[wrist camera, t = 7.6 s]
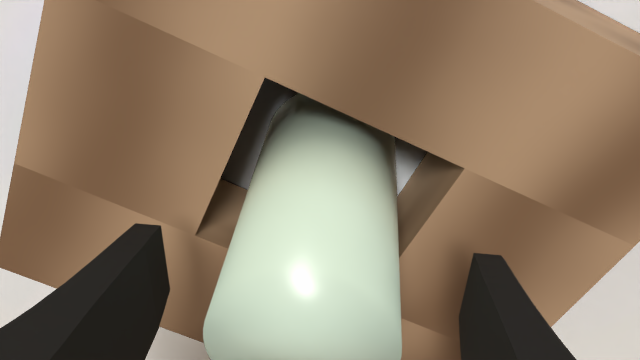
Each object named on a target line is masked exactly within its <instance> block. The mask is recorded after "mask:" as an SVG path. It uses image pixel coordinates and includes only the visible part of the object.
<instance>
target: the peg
mask: <svg viewBox="0 0 640 360" xmlns="http://www.w3.org/2000/svg"><path fill="white" fill-rule="evenodd" d="M203 340H204V345H205V348H206V351H207V354H208V356H209V358H210V359H211V360H401V356H402V332H401V302H400V271H399V241H398V211H397V180H396V150H395V136H393V135H390V134H388V133H386V132H384V131H382V130H379V129H377V128H375V127H373V126H371V125H368V124H366V123H364V122H362V121H360V120H357V119H355V118H353V117H351V116H349V115H346V114H344V113H342V112H340V111H338V110H335V109H333V108H331V107H329V106H327V105H325V104H322V103H320V102H318V101H316V100H314V99H311V98H309V97H307V96H305V95H303V94H300V93H299V94H297V95H295V96H293V97H292V98H290V99H289V100H287V101H286V102H285V103H284V104H283V105H282V106H281V107H280V108H279V109H278V110H277V112H276V113H275V115H274V117H273V118H272V120H271V123H270V125H269V128H268V131H267V134H266V137H265V140H264V143H263V146H262V149H261V152H260V155H259V158H258V161H257V164H256V167H255V170H254V173H253V176H252V179H251V182H250V185H249V188H248V191H247V194H246V197H245V201H244V204H243V207H242V210H241V213H240V216H239V219H238V222H237V225H236V228H235V231H234V234H233V237H232V240H231V243H230V246H229V249H228V252H227V255H226V258H225V261H224V264H223V267H222V270H221V273H220V276H219V279H218V282H217V285H216V288H215V291H214V294H213V297H212V300H211V303H210V306H209V309H208V312H207V315H206V318H205V321H204V327H203Z"/></svg>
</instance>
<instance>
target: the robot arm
mask: <svg viewBox="0 0 640 360" xmlns="http://www.w3.org/2000/svg"><path fill="white" fill-rule="evenodd" d="M169 292H170V284H169V277H168V271H167V264H166V257H165V250H164V243H163V236H162V229H161V225H150V224H138V223H135V224H134V225H133V226H132V227H130V228H129V229H128V230H127V231H126V232H124V233H123V234H122V235H121V236H120V237H119V238H117V239H116V240H115V241H114V242H113V243H112V244H110V245H109V246H108V247H107V248H106V249H105V250H103V251H102V252H101V253H100V254H99V255H98V256H97V257H95V258H94V259H93V260H92V261H91V262H89V263H88V264H87V265H86V266H85V267H83V268H82V269H81V270H80V271H79V272H77V273H76V274H75V275H74V276H73V277H71V278H70V279H69V280H68V281H66V282H65V283H64V284H63V285H61V286H60V287H59V288H57V289H56V290H55V291H53V292H52V293H51V294H49V295H48V296H47V297H45V298H44V299H43V300H41V301H40V302H39V303H37V304H36V305H35V306H33V307H32V308H30V309H29V310H28V311H26V312H25V313H23V314H22V315H20V316H19V317H17V318H16V319H14V320H13V321H11V322H9V323H8V324H6V325H5V326H3V327H2V328H0V360H145V358H146V356H147V354H148V351H149V349H150V347H151V345H152V342H153V340H154V338H155V335H156V333H157V331H158V329H159V325H160V322H161V319H162V316H163V313H164V310H165V306H166V303H167V299H168V296H169ZM459 335H460V351H461V360H576V359H575V357H574V356H573V355H572V354H571V353H570V351H569V350H568V349H567V348H566V347H565V345H564V344H563V343H562V341H561V340H560V339H559V338H558V336H557V335H556V334H555V332H554V331H553V330H552V328H551V327H550V326H549V324H548V323H547V322H546V320H545V319H544V318H543V316H542V315H541V313H540V312H539V311H538V309H537V308H536V306H535V305H534V304H533V302H532V301H531V299H530V298H529V296H528V295H527V293H526V292H525V290H524V289H523V287H522V286H521V284H520V283H519V281H518V280H517V278H516V277H515V275H514V273H513V272H512V270H511V269H510V267H509V266H508V264H507V262H506V261H505V259H504V258H503V257H502V256H501V255H493V254H481V253H473V258H472V262H471V266H470V270H469V275H468V279H467V283H466V287H465V292H464V296H463V300H462V304H461V308H460V313H459Z"/></svg>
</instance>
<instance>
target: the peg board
mask: <svg viewBox="0 0 640 360" xmlns="http://www.w3.org/2000/svg"><path fill="white" fill-rule="evenodd" d="M264 78H267V79H270V80H272V81H274V82H276V83H278V84H281V85H283V86H285V87H287V88H289V89H292V90H294V91H296V92H298V93H300V94H303V95H305V96H307V97H309V98H311V99H314V100H316V101H318V102H320V103H322V104H325V105H327V106H329V107H331V108H333V109H335V110H338V111H340V112H342V113H344V114H346V115H349V116H351V117H353V118H355V119H357V120H360V121H362V122H364V123H366V124H368V125H371V126H373V127H375V128H377V129H379V130H382V131H384V132H386V133H388V134H390V135H393V136H395V137H397V138H399V139H401V140H404V141H406V142H408V143H410V144H412V145H414V146H417V147H419V148H421V149H423V150H425V151H428V152H427V154H426V155H425V157H424V158H423V160H422V161H421V163H420V164H419V166H418V167H417V169H416V170H415V172H414V173H413V175H412V176H411V178H410V179H409V181H408V182H407V184H406V185H405V187H404V188H403V190H402V191H401V193H400V194H399V195H398V197H397V211H398V241H399V271H400V302H401V332H402V356H401V360H461V351H460V335H459V313H460V308H461V304H462V300H463V296H464V292H465V287H466V283H467V279H468V275H469V270H470V266H471V262H472V258H473V253H481V254H493V255H501V256H502V257H503V258H504V259H505V261H506V262H507V264H508V266H509V267H510V269H511V270H512V272H513V273H514V275H515V277H516V278H517V280H518V281H519V283H520V284H521V286H522V287H523V289H524V290H525V292H526V293H527V295H528V296H529V298H530V299H531V301H532V302H533V304H534V305H535V306H536V308H537V309H538V311H539V312H540V313H541V315H542V316H543V318H544V319H545V320H546V322H547V323H548V324H549V326H550V327H552V326H553V325H554V324H555V323H556V322H557V321H558V320H559V319H560V318H561V317H562V316H563V315H564V314H565V313H566V312H567V311H568V310H569V309H570V308H571V307H572V306H573V305H574V304H575V303H576V302H577V301H578V300H579V299H580V298H582V297H583V296H584V295H585V294H586V293H587V292H588V291H589V290H590V289H591V288H592V287H593V286H594V285H595V284H596V283H597V282H598V281H599V280H600V279H601V278H602V277H603V276H604V275H605V274H606V273H607V272H608V271H609V270H610V269H611V268H613V267H614V266H615V265H616V264H617V263H618V262H619V261H620V260H621V259H622V258H623V257H624V256H625V255H626V254H627V253H628V252H629V251H630V250H631V249H632V248H633V247H634V246H635V245H636V244H637V243H638V242H639V241H640V33H638V32H636V31H634V30H632V29H630V28H628V27H626V26H625V25H623V24H621V23H619V22H617V21H615V20H613V19H611V18H609V17H608V16H606V15H604V14H602V13H600V12H598V11H596V10H594V9H592V8H590V7H589V6H587V5H585V4H583V3H581V2H579V1H577V0H44V6H43V11H42V16H41V22H40V27H39V33H38V38H37V43H36V49H35V54H34V59H33V65H32V70H31V75H30V81H29V86H28V92H27V97H26V102H25V108H24V113H23V118H22V124H21V129H20V134H19V140H18V145H17V151H16V156H15V161H14V167H13V172H12V177H11V183H10V188H9V193H8V199H7V204H6V210H5V215H4V220H3V226H2V231H1V236H0V268H3V269H5V270H8V271H11V272H14V273H16V274H19V275H22V276H24V277H27V278H30V279H32V280H35V281H38V282H41V283H43V284H46V285H49V286H51V287H54V288H59V287H60V286H61V285H63V284H64V283H65V282H66V281H68V280H69V279H70V278H71V277H73V276H74V275H75V274H76V273H77V272H79V271H80V270H81V269H82V268H83V267H85V266H86V265H87V264H88V263H89V262H91V261H92V260H93V259H94V258H95V257H97V256H98V255H99V254H100V253H101V252H102V251H103V250H105V249H106V248H107V247H108V246H109V245H110V244H112V243H113V242H114V241H115V240H116V239H117V238H119V237H120V236H121V235H122V234H123V233H124V232H126V231H127V230H128V229H129V228H130V227H132V226H133V225H134V224H135V223H138V224H150V225H161V229H162V236H163V243H164V250H165V257H166V264H167V271H168V277H169V284H170V292H169V296H168V299H167V303H166V306H165V310H164V313H163V316H162V319H161V322H160V325H159V326H160V327H162V328H165V329H168V330H170V331H173V332H176V333H179V334H181V335H184V336H187V337H189V338H192V339H195V340H197V341H200V342H203V343H204V340H203V327H204V321H205V318H206V315H207V312H208V309H209V306H210V303H211V300H212V297H213V294H214V291H215V288H216V285H217V282H218V279H219V276H220V273H221V270H222V267H223V264H224V261H225V258H226V255H227V252H228V249H229V246H230V243H231V240H232V237H233V234H234V231H235V228H236V225H237V222H238V219H239V216H240V213H241V210H242V207H243V204H244V201H245V197H246V194H247V191H248V190H246V189H244V188H241V187H239V186H237V185H234V184H232V183H230V182H227V181H225V180H222V179H220V178H221V175H222V173H223V171H224V169H225V166H226V164H227V162H228V159H229V157H230V155H231V153H232V150H233V148H234V146H235V144H236V141H237V139H238V137H239V135H240V132H241V130H242V128H243V126H244V123H245V121H246V119H247V116H248V114H249V112H250V110H251V107H252V105H253V103H254V101H255V98H256V96H257V94H258V92H259V89H260V87H261V85H262V82H263V80H264Z"/></svg>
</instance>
